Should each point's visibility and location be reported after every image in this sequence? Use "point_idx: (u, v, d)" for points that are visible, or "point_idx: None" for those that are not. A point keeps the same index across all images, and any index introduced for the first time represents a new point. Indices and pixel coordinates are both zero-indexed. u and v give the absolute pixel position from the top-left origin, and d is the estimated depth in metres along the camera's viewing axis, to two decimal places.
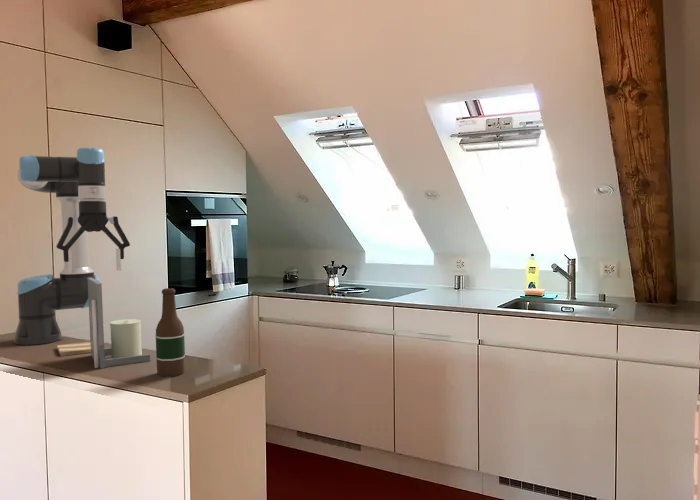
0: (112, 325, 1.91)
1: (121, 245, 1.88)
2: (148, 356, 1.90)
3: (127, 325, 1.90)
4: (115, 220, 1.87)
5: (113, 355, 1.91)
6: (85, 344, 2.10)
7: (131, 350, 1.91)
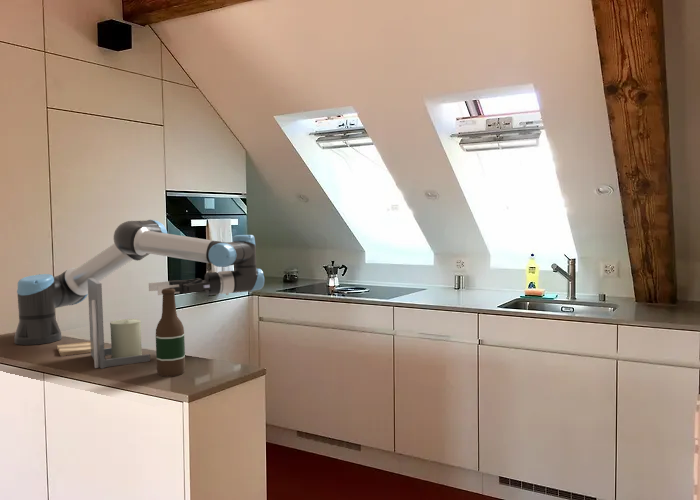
0: (112, 325, 1.91)
1: None
2: (148, 356, 1.90)
3: (127, 325, 1.90)
4: None
5: (113, 355, 1.91)
6: (85, 344, 2.10)
7: (131, 350, 1.91)
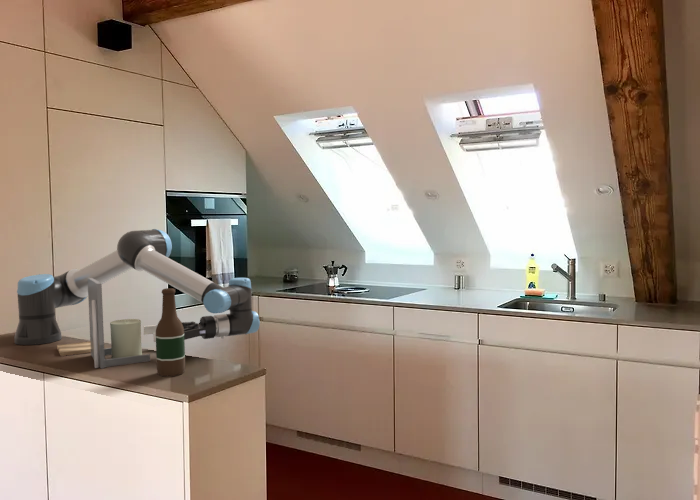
0: (112, 325, 1.91)
1: None
2: (148, 356, 1.90)
3: (127, 325, 1.90)
4: None
5: (113, 355, 1.91)
6: (85, 344, 2.10)
7: (131, 350, 1.91)
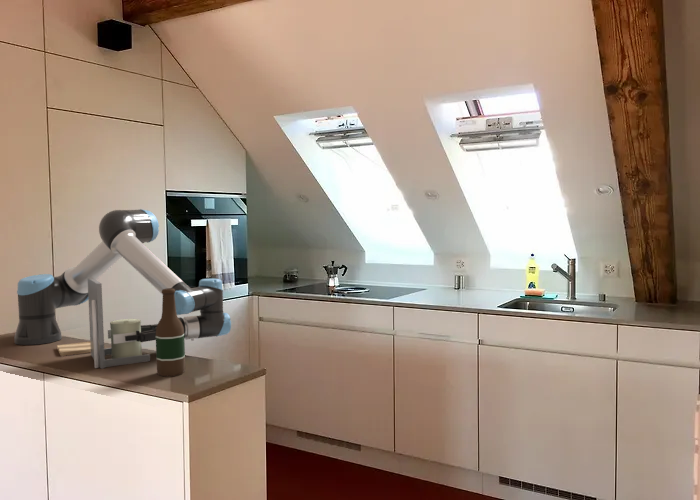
0: (112, 325, 1.91)
1: None
2: (148, 356, 1.90)
3: (127, 325, 1.90)
4: None
5: (113, 355, 1.91)
6: (85, 344, 2.10)
7: (131, 350, 1.91)
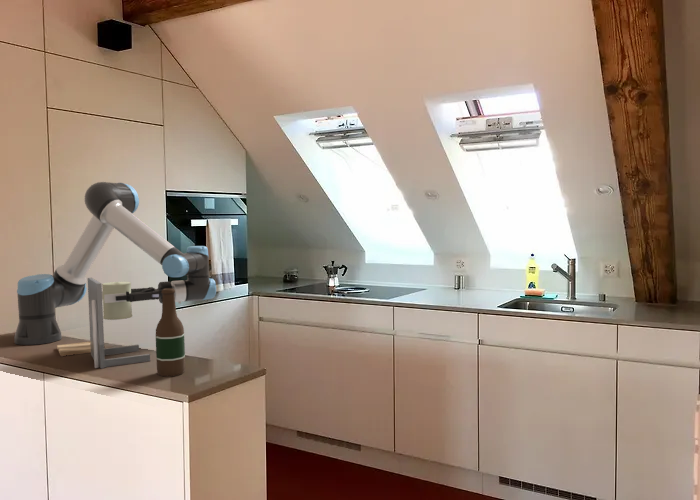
0: (104, 286, 2.05)
1: None
2: (148, 356, 1.90)
3: (118, 286, 2.04)
4: None
5: (105, 314, 2.05)
6: (85, 344, 2.10)
7: (121, 310, 2.05)
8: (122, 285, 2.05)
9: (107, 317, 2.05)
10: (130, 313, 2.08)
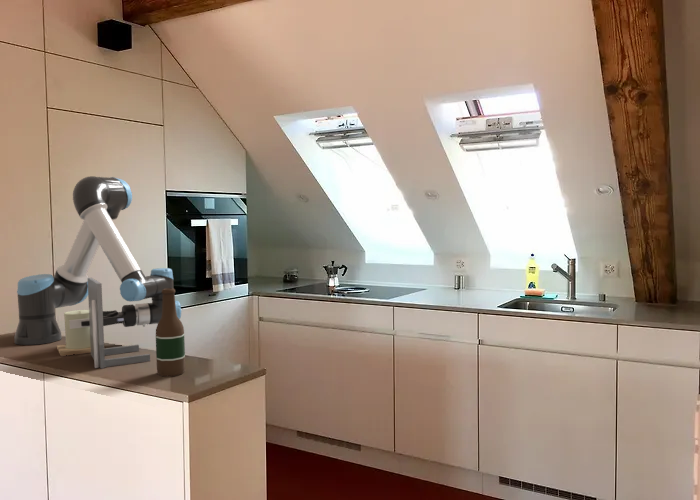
0: (65, 315, 2.03)
1: None
2: (148, 356, 1.90)
3: (79, 315, 2.03)
4: None
5: (67, 343, 2.04)
6: None
7: (83, 339, 2.04)
8: (84, 314, 2.04)
9: (69, 346, 2.03)
10: None
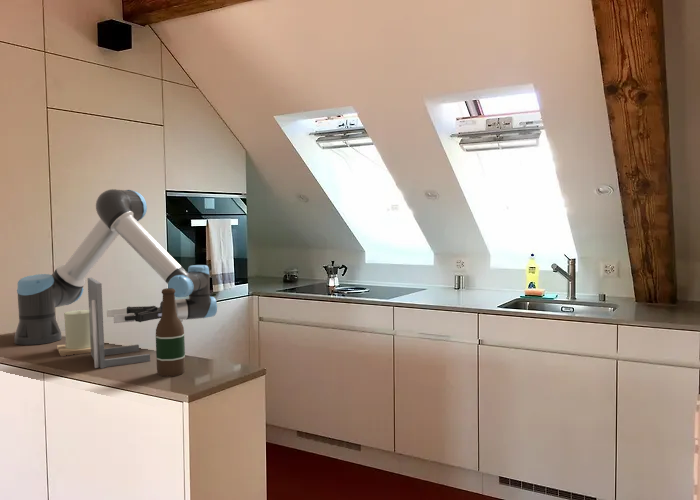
0: (65, 315, 2.03)
1: None
2: (148, 356, 1.90)
3: (79, 315, 2.03)
4: None
5: (67, 343, 2.04)
6: None
7: (83, 339, 2.04)
8: (84, 314, 2.04)
9: (69, 346, 2.03)
10: None
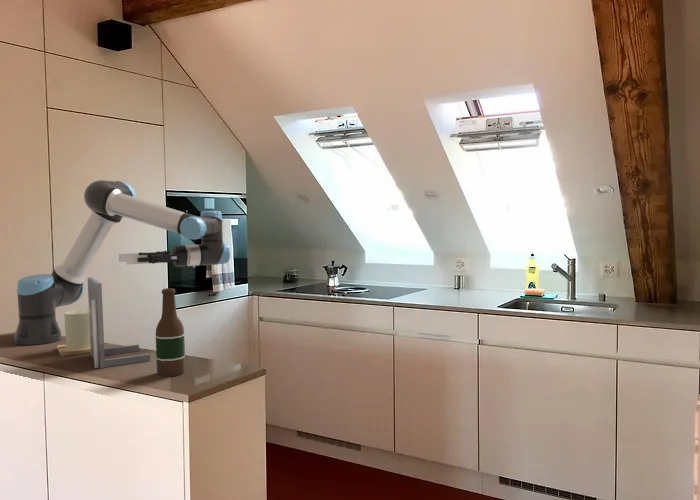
0: (65, 315, 2.03)
1: None
2: (148, 356, 1.90)
3: (79, 315, 2.03)
4: None
5: (67, 343, 2.04)
6: None
7: (83, 339, 2.04)
8: (84, 314, 2.04)
9: (69, 346, 2.03)
10: None
